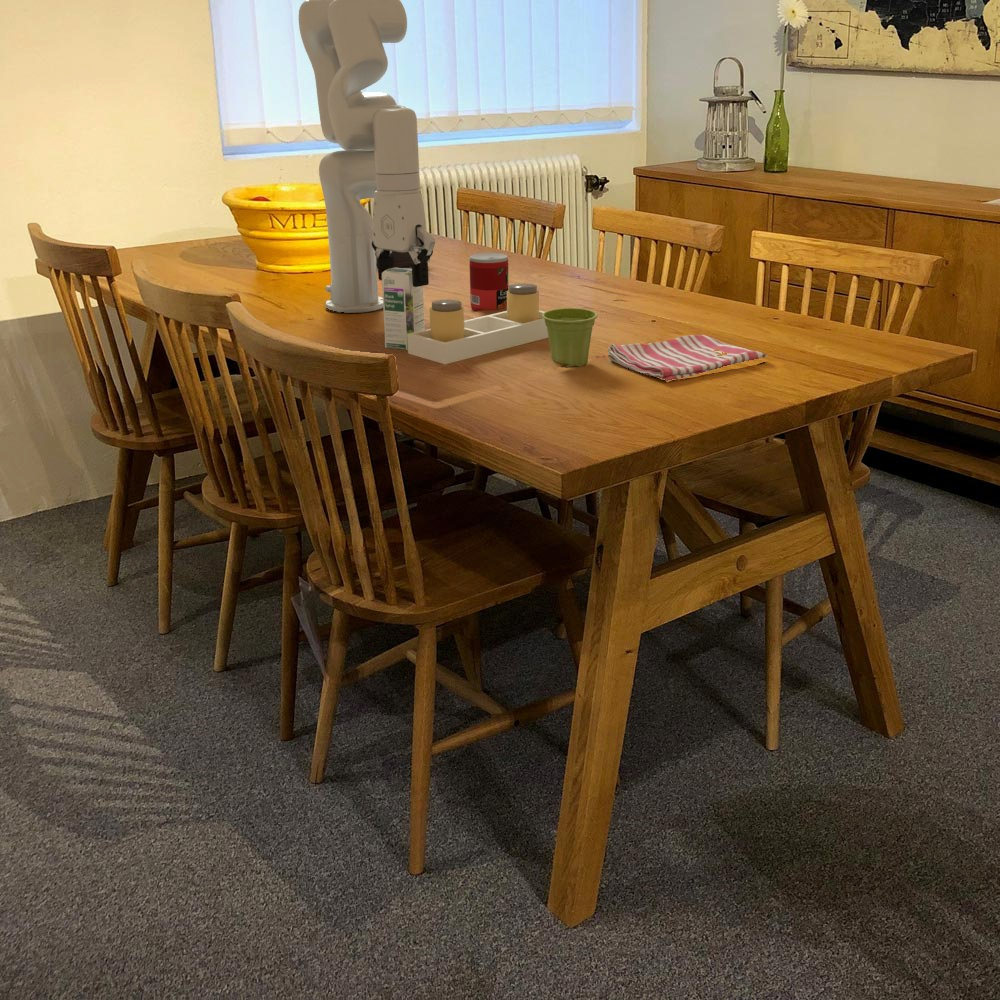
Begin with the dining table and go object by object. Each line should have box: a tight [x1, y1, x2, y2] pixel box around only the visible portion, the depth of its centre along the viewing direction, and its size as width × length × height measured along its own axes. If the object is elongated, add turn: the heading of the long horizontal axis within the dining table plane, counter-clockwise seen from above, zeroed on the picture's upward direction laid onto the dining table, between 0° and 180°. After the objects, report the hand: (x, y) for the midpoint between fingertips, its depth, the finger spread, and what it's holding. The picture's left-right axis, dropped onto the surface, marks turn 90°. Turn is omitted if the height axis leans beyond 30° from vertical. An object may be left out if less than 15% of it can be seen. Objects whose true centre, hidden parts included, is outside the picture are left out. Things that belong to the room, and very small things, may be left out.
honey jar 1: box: [429, 299, 465, 342], centre depth 202 cm, size 6×6×9 cm
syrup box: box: [381, 267, 426, 351], centre depth 207 cm, size 6×6×14 cm
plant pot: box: [542, 307, 598, 368], centre depth 198 cm, size 9×9×9 cm
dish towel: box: [607, 334, 769, 381], centre depth 199 cm, size 17×23×4 cm
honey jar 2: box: [506, 282, 540, 323], centre depth 214 cm, size 6×6×9 cm
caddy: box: [407, 310, 549, 365], centre depth 209 cm, size 10×29×4 cm, turn 133°
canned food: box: [468, 252, 509, 313], centre depth 236 cm, size 8×8×11 cm
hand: (403, 282), depth 205 cm, fingers open, 9 cm apart
